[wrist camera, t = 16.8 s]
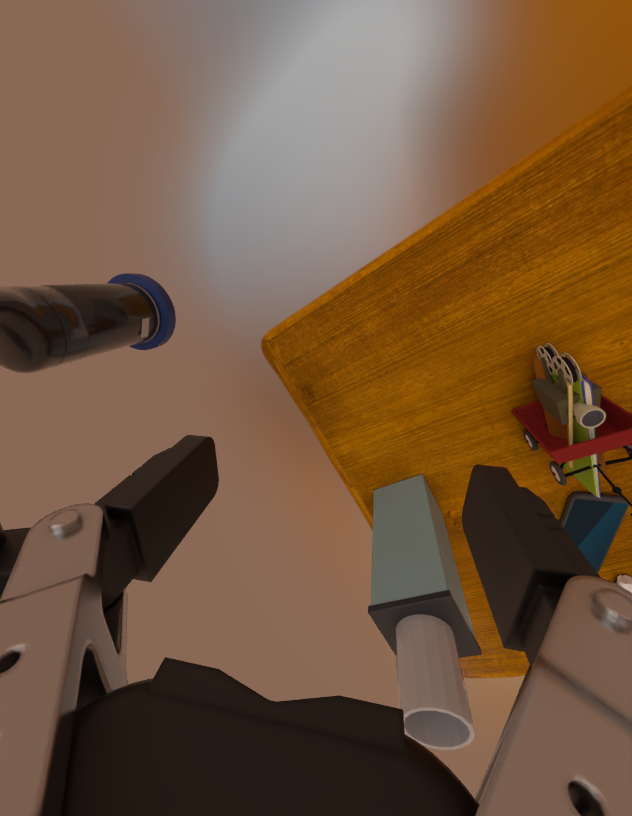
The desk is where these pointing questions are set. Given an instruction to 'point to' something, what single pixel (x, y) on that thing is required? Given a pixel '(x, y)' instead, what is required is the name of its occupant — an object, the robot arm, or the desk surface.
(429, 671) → the grey cup
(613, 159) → the desk surface
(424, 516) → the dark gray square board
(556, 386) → the loaded red toy wagon
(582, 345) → the desk surface
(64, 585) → the robot arm
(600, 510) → the smartphone
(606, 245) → the desk surface
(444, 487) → the desk surface
